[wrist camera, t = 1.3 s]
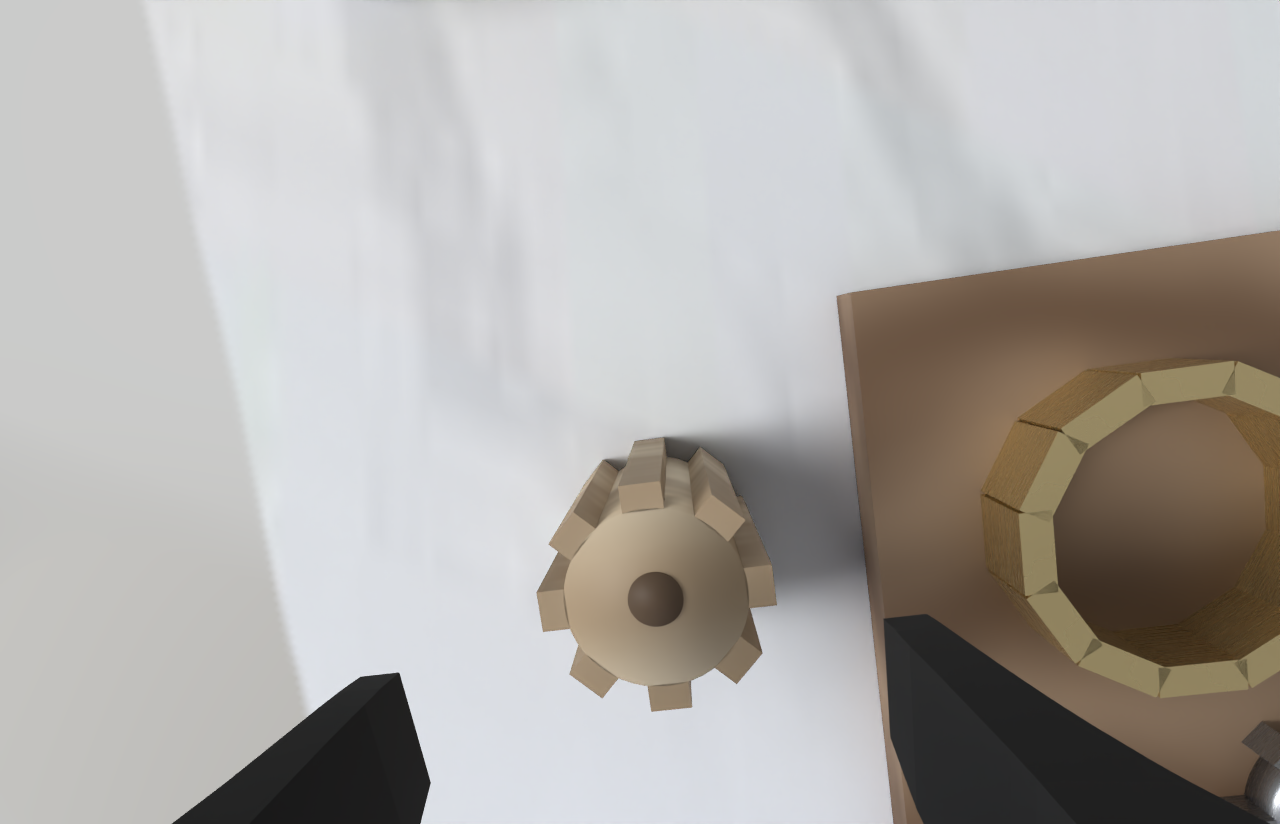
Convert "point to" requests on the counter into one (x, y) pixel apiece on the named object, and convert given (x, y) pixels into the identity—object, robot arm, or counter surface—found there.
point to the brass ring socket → (1037, 479)
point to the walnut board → (1100, 488)
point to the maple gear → (658, 576)
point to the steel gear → (1262, 776)
